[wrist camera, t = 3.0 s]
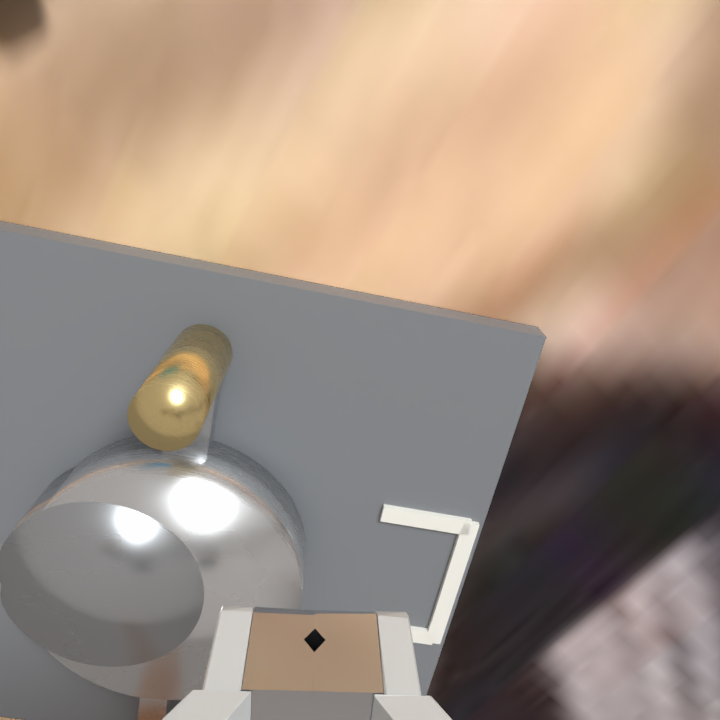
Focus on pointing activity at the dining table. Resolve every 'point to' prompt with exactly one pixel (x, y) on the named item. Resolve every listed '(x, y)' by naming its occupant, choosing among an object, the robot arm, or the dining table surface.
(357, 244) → the dining table surface
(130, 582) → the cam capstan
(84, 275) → the grey square plate
